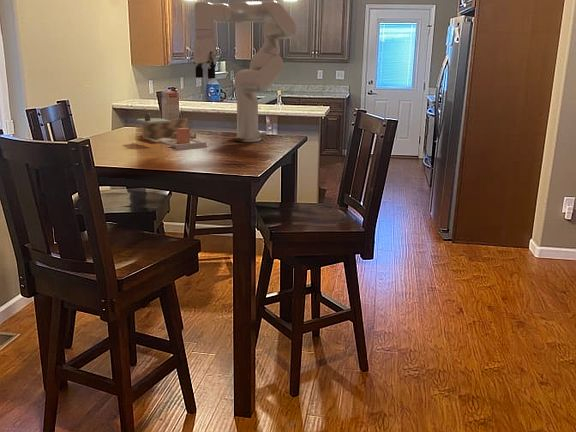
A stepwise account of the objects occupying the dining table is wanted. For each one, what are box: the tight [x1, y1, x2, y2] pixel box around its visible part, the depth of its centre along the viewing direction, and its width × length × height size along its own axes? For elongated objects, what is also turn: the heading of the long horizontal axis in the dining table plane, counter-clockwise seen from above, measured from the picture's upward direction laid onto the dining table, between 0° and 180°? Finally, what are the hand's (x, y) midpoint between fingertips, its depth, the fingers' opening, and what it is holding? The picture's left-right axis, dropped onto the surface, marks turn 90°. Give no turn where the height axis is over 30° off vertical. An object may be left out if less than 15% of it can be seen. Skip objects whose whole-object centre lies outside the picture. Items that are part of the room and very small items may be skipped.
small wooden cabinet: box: [141, 118, 200, 145], centre depth 249 cm, size 22×13×9 cm, turn 129°
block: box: [176, 127, 191, 144], centre depth 236 cm, size 4×4×7 cm
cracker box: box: [160, 90, 180, 120], centre depth 264 cm, size 14×6×21 cm, turn 22°
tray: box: [160, 138, 207, 151], centre depth 236 cm, size 14×14×2 cm
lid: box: [136, 112, 171, 124], centre depth 242 cm, size 10×13×4 cm
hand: (205, 78), depth 231 cm, fingers open, 9 cm apart
